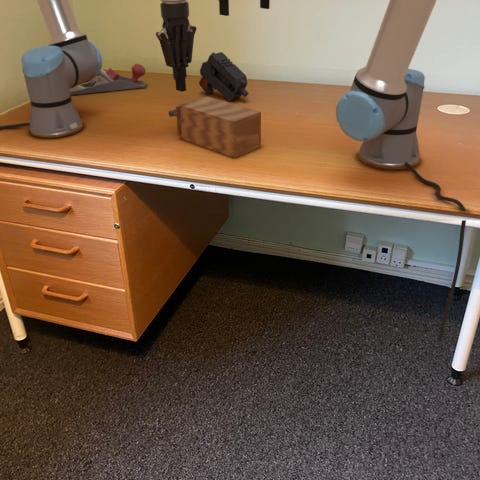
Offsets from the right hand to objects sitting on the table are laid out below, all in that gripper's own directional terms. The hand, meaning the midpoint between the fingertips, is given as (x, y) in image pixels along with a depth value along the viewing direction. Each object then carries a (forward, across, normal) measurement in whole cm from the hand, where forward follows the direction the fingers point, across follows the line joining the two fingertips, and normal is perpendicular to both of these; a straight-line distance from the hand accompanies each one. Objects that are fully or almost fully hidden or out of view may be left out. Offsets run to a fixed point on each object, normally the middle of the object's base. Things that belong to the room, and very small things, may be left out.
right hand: (245, 11), depth 133 cm
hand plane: (+34, +3, -76) cm, 83 cm away
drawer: (+33, +6, -10) cm, 36 cm away
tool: (+34, -22, -37) cm, 55 cm away
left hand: (+22, +7, -20) cm, 31 cm away
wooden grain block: (+34, +6, -4) cm, 35 cm away
